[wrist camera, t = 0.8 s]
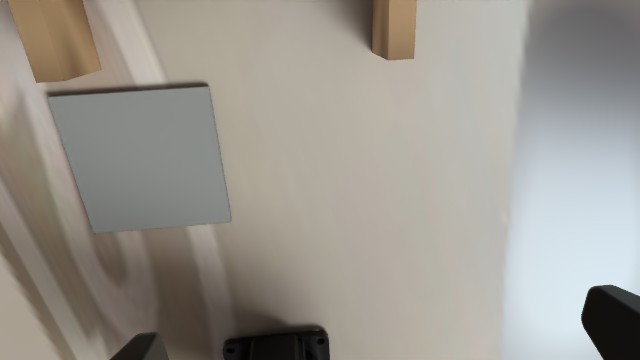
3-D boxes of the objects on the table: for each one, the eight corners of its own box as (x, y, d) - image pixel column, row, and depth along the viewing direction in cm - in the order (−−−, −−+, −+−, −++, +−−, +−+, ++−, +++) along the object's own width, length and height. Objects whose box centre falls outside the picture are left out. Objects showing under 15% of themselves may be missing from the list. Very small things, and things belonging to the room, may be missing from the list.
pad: (231, 219, 20) (230, 222, 20) (96, 230, 20) (93, 233, 19) (208, 85, 17) (207, 87, 17) (50, 96, 17) (46, 97, 17)
